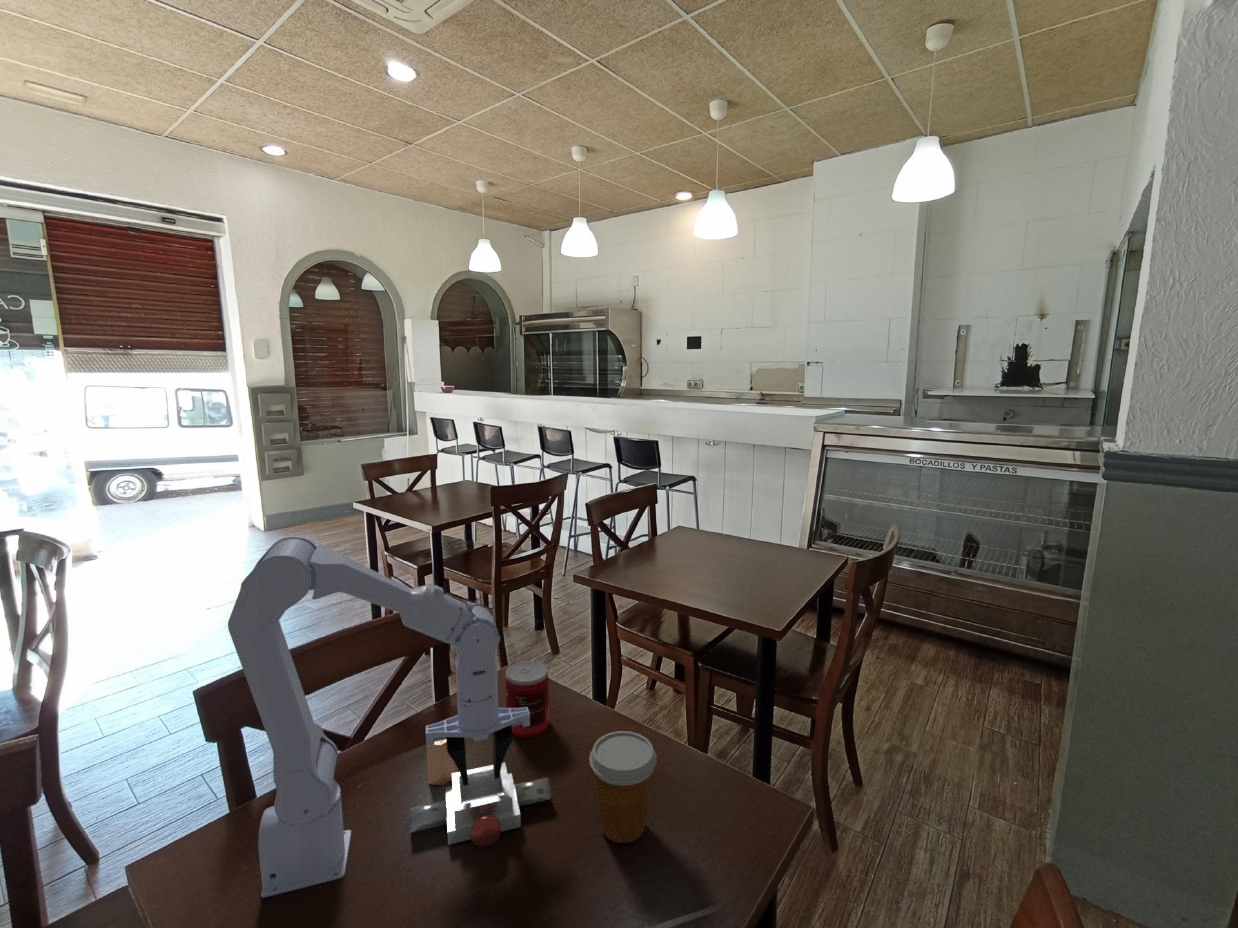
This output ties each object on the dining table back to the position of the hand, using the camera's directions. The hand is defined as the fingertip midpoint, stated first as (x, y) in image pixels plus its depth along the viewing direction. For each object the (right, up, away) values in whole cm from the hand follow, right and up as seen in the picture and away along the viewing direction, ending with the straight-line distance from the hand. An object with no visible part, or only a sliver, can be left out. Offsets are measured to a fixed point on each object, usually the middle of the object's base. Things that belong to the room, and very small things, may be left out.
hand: (481, 777), depth 83 cm
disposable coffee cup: (+21, -6, -2) cm, 22 cm away
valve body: (0, -6, 0) cm, 6 cm away
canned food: (+3, -3, +22) cm, 22 cm away
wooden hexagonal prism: (-9, -5, +9) cm, 13 cm away
